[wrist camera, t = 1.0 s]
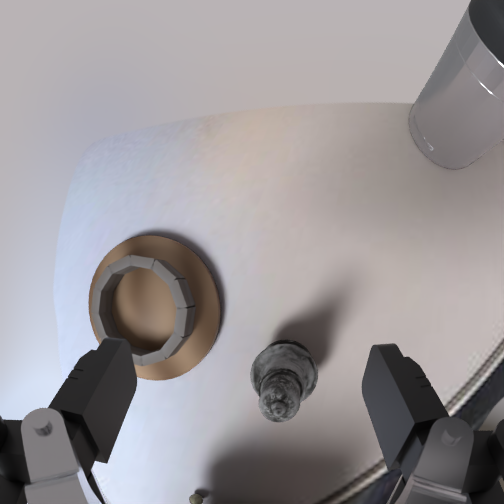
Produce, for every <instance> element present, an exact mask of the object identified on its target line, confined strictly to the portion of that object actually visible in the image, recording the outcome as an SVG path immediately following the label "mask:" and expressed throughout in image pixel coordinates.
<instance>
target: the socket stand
mask: <svg viewBox="0 0 504 504" xmlns="http://www.w3.org/2000/svg"><path fill="white" fill-rule="evenodd" d="M89 315H90V321H91V325H92V328H93V331H94V334H95V336H96V339H97V340H98V342H99V344H101V342H102V341H103V339H104V338H106V337H110V338H119V339H127V340H128V342H129V344H130V348H131V353H132V357H133V362H134V366H135V370H136V374H137V377H139V378H143V379H147V380H167V379H172V378H175V377H178V376H181V375H183V374H184V373H186V372H188V371H190V370H191V369H192V368H193V367H195V366H196V365H197V364H199V363H200V362H201V361H202V360H203V359H204V357H205V356H206V355H207V354H208V352H209V351H210V349H211V347H212V346H213V344H214V342H215V339H216V336H217V334H218V330H219V325H220V316H221V307H220V298H219V293H218V290H217V286H216V283H215V281H214V279H213V276H212V274H211V273H210V271H209V269H208V268H207V266H206V265H205V264H204V262H203V261H202V260H201V259H200V258H199V257H198V256H197V255H196V254H195V253H194V252H193V251H192V250H190V249H189V248H188V247H186V246H184V245H183V244H181V243H179V242H176V241H174V240H171V239H168V238H165V237H160V236H151V235H147V236H138V237H134V238H131V239H128V240H126V241H124V242H122V243H120V244H119V245H117V246H116V247H115V248H113V249H112V250H111V251H110V252H109V253H108V254H107V255H106V256H105V257H104V259H103V260H102V261H101V263H100V264H99V266H98V268H97V270H96V272H95V274H94V276H93V279H92V283H91V286H90V292H89Z"/></svg>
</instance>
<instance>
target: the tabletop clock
mask: <svg viewBox="0 0 504 504" xmlns="http://www.w3.org/2000/svg"><path fill="white" fill-rule="evenodd" d="M189 500H190V503H191V504H202V503H203V499H202V497H201V496H200V495H198V494H193V495H191V496H190V498H189Z"/></svg>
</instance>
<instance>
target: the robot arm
mask: <svg viewBox="0 0 504 504" xmlns="http://www.w3.org/2000/svg"><path fill="white" fill-rule="evenodd" d="M409 127H410V131H411V134H412V137H413V139H414V141H415V143H416V144H417V146H418V147H419V149H420V150H421V151H422V152H423V153H424V155H425V156H426V157H428V158H429V159H430V160H431V161H433V162H434V163H436V164H438V165H440V166H442V167H445V168H448V169H462V168H464V167H466V166H468V165H470V164H471V163H472V162H474V161H475V160H476V159H478V158H479V157H480V156H482V155H483V154H485V153H486V152H487V151H489V150H490V149H491V148H493V147H494V146H495V145H497V144H498V143H499V142H501V141H502V140H503V139H504V0H471V2H470V4H469V6H468V8H467V10H466V12H465V14H464V16H463V18H462V20H461V21H460V23H459V25H458V27H457V29H456V31H455V33H454V35H453V37H452V39H451V40H450V43H449V44H448V46H447V48H446V50H445V52H444V53H443V55H442V57H441V59H440V61H439V62H438V64H437V66H436V68H435V70H434V71H433V73H432V75H431V76H430V78H429V80H428V82H427V83H426V85H425V87H424V88H423V90H422V92H421V93H420V95H419V97H418V99H417V100H416V102H415V104H414V105H413V107H412V109H411V111H410V116H409ZM136 387H137V374H136V370H135V366H134V362H133V357H132V353H131V348H130V344H129V342H128V340H127V339H119V338H110V337H106V338H104V339H103V341H102V342H101V344H100V345H99V347H98V348H97V350H90V351H89V352H88V353H86V354H85V355H84V356H82V357H81V358H80V359H79V361H78V362H77V364H76V365H75V367H74V370H72V371H71V373H70V374H69V376H68V378H67V379H66V380H65V382H64V383H63V385H62V386H61V388H60V389H59V391H58V393H57V394H56V396H55V397H54V399H53V400H52V402H51V404H50V405H49V407H48V408H40V409H36V410H34V411H32V412H30V413H29V414H28V415H26V417H25V418H24V419H23V420H3V419H2V417H1V416H0V504H27V502H28V504H108V503H107V501H106V499H105V497H104V494H103V492H102V490H101V488H100V486H99V483H98V481H97V479H96V476H95V474H94V472H93V470H92V467H93V464H94V462H95V461H98V462H102V463H108V460H109V457H110V455H111V452H112V449H113V447H114V444H115V441H116V439H117V436H118V434H119V431H120V429H121V426H122V423H123V421H124V418H125V416H126V413H127V411H128V408H129V406H130V403H131V401H132V399H133V396H134V394H135V391H136ZM362 394H363V398H364V401H365V404H366V407H367V409H368V412H369V415H370V418H371V421H372V424H373V427H374V430H375V432H376V435H377V438H378V441H379V444H380V447H381V450H382V453H383V456H384V459H385V462H386V466H387V469H388V470H393V469H398V468H400V469H401V471H402V476H401V477H400V479H399V481H398V483H397V485H396V487H395V489H394V491H393V493H392V495H391V497H390V499H389V501H388V503H387V504H504V492H503V489H502V487H501V485H500V482H499V480H500V479H501V478H503V480H504V419H503V420H502V421H500V422H499V424H498V425H497V427H496V428H495V430H494V431H472V429H471V427H470V426H469V425H468V424H467V423H466V422H465V421H463V420H461V419H459V418H455V417H450V416H449V415H448V413H447V411H446V409H445V407H444V406H443V404H442V402H441V401H440V399H439V397H438V395H437V394H436V392H435V390H434V389H433V387H431V383H430V382H429V380H428V378H426V375H425V373H424V372H423V370H422V369H421V367H420V365H418V364H417V363H416V362H415V361H413V360H412V359H411V358H410V357H403V355H402V353H401V352H400V350H399V348H398V347H397V345H396V344H380V345H373V346H372V348H371V350H370V354H369V358H368V362H367V365H366V369H365V373H364V376H363V380H362Z"/></svg>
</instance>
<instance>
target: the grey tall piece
mask: <svg viewBox="0 0 504 504" xmlns="http://www.w3.org/2000/svg"><path fill="white" fill-rule="evenodd" d="M317 379H318V370H317V367H316V363H315V361H314V360H313V358H312V357H311V355H310V353H309V352H308V350H307V349H306V348H305V347H304V346H303V345H302V344H300V343H298V342H296V341H291V340H280V341H277V342H274V343H272V344H271V345H269V346H268V347H267V348H266V349H265V350H263V351H262V352H261V353H260V354H259V355H258V356H257V357H256V359H255V361H254V363H253V364H252V368H251V383H252V385H253V388H254V390H255V391H256V393H257V394H258V396H259V397H260V399H259V408H260V411H261V413H262V414H263V416H264V417H266V418H267V419H268V420H270V421H273V422H284V421H288V420H289V419H291V418H292V417H293V416H295V414H296V413H297V411H298V410H299V407H300V403H301V402H302V401H304V400H305V399H306V398H307V397H308V396H309V395H310V394H311V393H312V392H313V390H314V388H315V387H316V383H317Z"/></svg>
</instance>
